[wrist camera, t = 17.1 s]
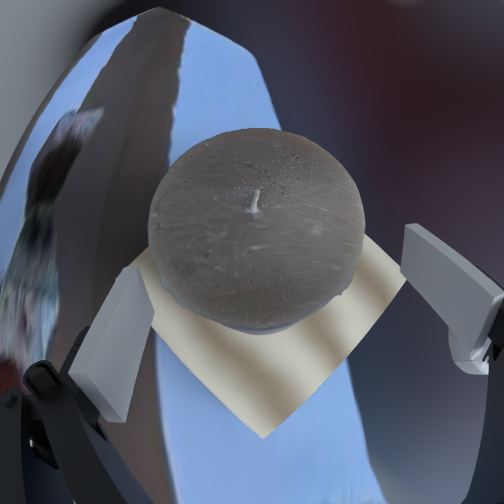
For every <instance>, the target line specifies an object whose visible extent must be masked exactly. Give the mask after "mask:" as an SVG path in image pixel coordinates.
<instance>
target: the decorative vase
mask: <svg viewBox="0 0 504 504" xmlns="http://www.w3.org/2000/svg"><path fill="white" fill-rule="evenodd" d="M448 336H449V337H448V343H449V348H450V352H451V357H452V360H454V361H453V362H454V363H455V364H456V365H457V366H458V367H459V368H460V369H461V370H463V371H464V372H466V373H469V374H488V370H489V363H487V361H488V359H489V356H487V357H486V359H485V361H484V362H482V360H483V357H484V355H485V353H486V351H487V349H488V347H489V345H490V343H491V340H490V338H489V337H487V339H486V341H485V343H484V345H483V347H482V348H481V349H479V350H477V351H475V352H473V353H471V354H470V353H469V351H468V350H467V349H466V348H465V346H464V345H463V344H462V343H461V341H460V340H459V339H458V338H457V336H456V335H455V334H454V333H453V331H452V330H451V329H450V328H448Z"/></svg>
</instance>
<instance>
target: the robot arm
mask: <svg viewBox="0 0 504 504" xmlns="http://www.w3.org/2000/svg"><path fill="white" fill-rule="evenodd" d="M400 273H401V274H402V275H403V276H404V277H405V278H406V279H407V280H408V281H409V282H410V283H411V284H412V285H413V287H414V288H415V289H416V290H417V291H418V292H419V293H420V294H421V295H422V296H423V298H424V299H425V300H426V301H427V302H428V303H429V304H430V305H431V307H432V308H433V309H434V310H435V311H436V312H437V313H438V315H439V316H440V317H441V318H442V319H443V320H444V322H445V323H446V324H447V325H448V327H449V328H450V329H451V330H452V331H453V333H454V334H455V335H456V336H457V338H458V339H459V340H460V341H461V343H462V344H463V345H464V346H465V348H466V349H467V350H468V351H469V353H470V354H471V353H473V352H475V351H477V350H479V349H481V348H482V347H483V345H484V343H485V341H486V339H487V337H489V338H490V340H491V343H490V345H489V347H488V349H487V351H486V353H485V355H484V357H483V360H482V362H484V361H485V359H486V357H487V356H489V359H488V361H487V363H489V370H488V390H487V402H486V412H485V419H484V426H483V432H482V439H481V444H480V449H479V454H478V458H477V463H476V467H475V471H474V475H473V478H472V482H471V485H470V489H469V492H468V494H467V496H466V498H465V499H464V501H463V502H462V503H461V504H504V288H503V287H502V286H500V285H499V284H498V283H497V282H496V281H495V280H493V279H491V277H490V276H489V275H487V274H485V272H484V271H483V270H482V269H480V268H479V267H478V266H475V265H473V264H471V263H470V262H469V261H468V260H466V259H465V258H464V257H463V256H461V255H460V254H459V253H457V252H456V251H455V250H453V249H452V248H451V247H449V246H448V245H447V244H445V243H444V242H443V241H441V240H440V239H438V238H437V237H436V236H434V235H433V234H432V233H430V232H429V231H427V230H426V229H424V228H423V227H422V226H420V225H419V224H417V223H415V224H408V225H405V234H404V245H403V252H402V260H401V268H400ZM154 314H155V311H154V308H153V306H152V303H151V300H150V298H149V295H148V292H147V290H146V287H145V284H144V281H143V278H142V275H141V273H140V270H139V267H138V265H137V266H131V267H124V268H123V270H122V272H121V273H120V275H119V277H118V278H117V280H116V282H115V283H114V285H113V287H112V289H111V290H110V292H109V294H108V296H107V297H106V299H105V301H104V303H103V304H102V306H101V308H100V310H99V312H98V314H97V315H96V317H95V319H94V321H93V323H92V325H91V326H86V327H85V328H84V329H83V330H82V331H81V332H80V333H79V334H78V336H77V338H76V340H75V342H74V346H72V348H71V350H70V353H69V354H68V356H67V358H66V360H65V362H64V364H63V366H62V368H61V370H60V372H59V374H58V372H57V371H56V370H55V368H54V367H53V365H52V364H51V363H50V362H49V361H47V360H41V361H38V362H36V363H34V364H33V365H31V366H30V367H29V368H28V369H27V371H26V372H25V374H24V377H23V383H24V384H25V386H26V387H27V388H28V389H29V390H30V392H31V393H32V394H31V395H26V396H25V394H24V393H23V392H22V391H21V390H20V389H19V388H17V387H11V388H9V389H7V390H6V391H4V393H3V394H2V396H1V397H0V504H74V502H75V504H154V503H153V502H152V500H151V499H150V498H149V497H148V495H147V494H146V493H145V491H144V490H143V489H142V487H141V486H140V485H139V483H138V482H137V480H136V479H135V478H134V476H133V475H132V473H131V472H130V470H129V469H128V468H127V466H126V465H125V463H124V462H123V460H122V458H121V457H120V455H119V454H118V452H117V451H116V449H115V447H114V446H113V444H112V442H111V441H110V439H109V437H108V435H107V434H106V432H105V430H104V428H103V427H102V425H101V424H100V423H99V422H98V418H99V415H100V413H101V415H102V416H103V417H104V418H105V419H106V420H107V421H109V422H121V423H125V422H126V418H127V413H128V409H129V405H130V400H131V396H132V392H133V388H134V384H135V380H136V376H137V373H138V369H139V365H140V362H141V358H142V354H143V351H144V347H145V344H146V340H147V337H148V333H149V330H150V327H151V323H152V320H153V317H154ZM30 440H31V441H32V447H31V444H30Z"/></svg>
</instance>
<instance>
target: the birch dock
mask: <svg viewBox="0 0 504 504" xmlns="http://www.w3.org/2000/svg"><path fill="white" fill-rule="evenodd" d="M137 265H138V267H139V270H140V273H141V275H142V278H143V281H144V284H145V287H146V290H147V292H148V295H149V298H150V300H151V303H152V306H153V308H154V311H155V314H154V317H153V320H152V323H151V326H152V328H153V329H154V330H155V331H156V332H157V334H158V335H159V336H160V337H161V338H162V339H163V341H164V342H165V343H166V344H167V345H168V346H169V347H170V349H171V350H172V351H173V352H174V353H175V354H176V355H177V356H178V358H179V359H180V360H181V361H182V362H183V363H184V364H185V365H186V366H187V367H188V368H189V369H190V370H191V372H192V373H193V374H194V375H195V376H196V377H197V378H198V379H199V380H200V381H201V382H202V383H203V384H204V385H205V386H206V387H207V388H208V389H209V390H210V391H211V392H212V393H213V394H214V395H215V396H216V397H217V398H218V399H219V400H220V401H221V402H222V403H223V404H224V405H225V406H226V407H227V408H229V409H230V410H231V411H232V412H233V413H234V414H235V415H236V416H237V417H238V418H239V419H240V420H242V421H243V422H244V423H245V424H246V425H247V426H248V427H249V428H251V429H252V430H253V431H254V432H255V433H256V434H258V435H259V436H260V437H261V438H262V439H264V438H265V437H266V436H268V435H269V434H270V433H271V432H272V431H273V430H274V429H276V428H277V427H278V426H279V425H280V424H281V423H282V422H283V421H284V420H286V419H287V418H288V417H289V416H290V415H291V414H292V413H293V412H294V411H295V410H296V409H297V408H298V407H299V406H300V405H301V404H302V403H303V402H305V401H306V400H307V399H308V398H309V397H310V396H311V395H312V394H313V393H314V392H315V391H316V389H317V388H318V387H319V386H320V385H321V384H322V383H323V382H324V381H325V380H326V379H327V378H328V377H329V376H330V375H331V374H332V373H333V372H334V370H335V369H336V368H337V367H338V366H339V365H340V364H341V363H342V362H343V360H344V359H345V358H346V357H347V356H348V355H349V354H350V352H351V351H352V350H353V349H354V348H355V347H356V345H357V344H358V343H359V342H360V341H361V339H362V338H363V337H364V336H365V334H366V333H367V332H368V331H369V329H370V328H371V327H372V326H373V324H374V323H375V322H376V321H377V319H378V318H379V317H380V315H381V314H382V313H383V312H384V310H385V309H386V307H387V306H388V305H389V303H390V302H391V301H392V299H393V298H394V296H395V295H396V294H397V292H398V291H399V290H400V288H401V287H402V285H403V284H404V282H405V281H406V280H407V279H406V278H405V277H404V276H403V275H402V274H401V273H400V268H401V267H400V266H399V265H398V264H397V263H396V262H395V261H394V260H393V259H392V258H391V257H389V256H388V255H387V254H386V253H385V252H384V251H383V250H382V249H381V248H380V247H379V246H378V245H377V244H376V243H374V242H373V241H372V240H371V239H370V238H369V237H368V236H367V235H365V233H364V240H363V248H362V252H361V254H360V256H359V259H358V262H357V266H356V268H355V269H354V277H353V279H352V282H351V283H350V285H349V287H348V288H347V289H346V290H344V291H343V292H342V295H341V296H340V295H337V296H335V297H334V298H333V299H332V300H331V301H330V302H329V303H327V304H326V305H325V306H324V307H323V308H321V309H320V310H319V311H316V312H314V313H313V314H311V315H309V316H307V317H306V318H304V319H302V320H301V321H300V322H298V323H296V324H295V325H293V326H291V327H289V328H288V329H286V330H283V331H281V332H277V333H274V334H268V335H251V334H246V333H243V332H240V331H237V330H234V329H231V328H229V327H227V326H223V325H222V324H220V323H217V322H215V321H213V320H210V319H207V318H205V317H203V316H201V315H196V314H195V313H194V311H193V310H189V309H185V308H183V307H182V306H181V305H180V304H179V303H178V302H176V300H175V299H174V297H173V295H172V293H171V292H168V291H166V290H165V289H164V288H163V286H162V284H161V280H160V276H159V273H158V271H157V269H156V267H155V264H154V261H153V259H152V256H151V253H150V248H149V246H148V247H147V248H146V249H145V250H144V251H143V252H142V253H141V254H140V255H139V256H138V257H137V258H136V259H135V260H134V261H133V262H132V263H131V264H130V265H129V266H128V267H131V266H137ZM118 277H119V276H118ZM118 277H117V278H118ZM117 278H116V279H115V280H117Z"/></svg>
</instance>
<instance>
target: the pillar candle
mask: <svg viewBox="0 0 504 504" xmlns="http://www.w3.org/2000/svg"><path fill="white" fill-rule="evenodd" d="M364 229H365V217H364V211H363V206H362V202H361V198H360V195H359V192H358V189H357V187H356V184H355V182H354V181H353V180H352V178H351V177H350V175H349V174H348V172H347V171H346V169H345V168H344V167H343V166H342V165H341V164H340V163H339V162H338V161H337V160H336V159H335V158H334V157H333V156H332V155H331V154H329V153H328V152H327V151H326V150H324V149H323V148H321V147H320V146H319V145H317V144H316V143H314V142H312V141H309V140H308V139H306V138H304V137H303V136H299V135H296V134H293V133H289V132H285V131H281V130H276V129H269V128H248V129H241V130H236V131H231V132H225V133H221V134H219V135H216V136H214V137H213V138H210V139H207V140H205V141H202V142H200V143H198V144H197V145H195V146H194V147H192V148H191V149H189V150H188V151H187V152H186V153H184V154H183V155H182V156H181V157H179V159H178V160H177V161H176V162H175V163H174V164H173V165H172V166H171V167H170V168H169V170H168V171H167V172H166V173H165V175H164V176H163V178H162V180H161V182H160V183H159V185H158V187H157V189H156V192H155V194H154V196H153V199H152V202H151V206H150V212H149V220H148V243H149V248H150V253H151V256H152V259H153V261H154V264H155V267H156V269H157V271H158V273H159V276H160V280H161V284H162V286H163V288H164V289H165V290H166V291H168V292H171V293H172V295H173V297H174V299H175V300H176V302H178V303H179V304H180V305H181V306H182V307H183V308H185V309H189V310H193V311H194V313H195V314H196V315H201V316H203V317H205V318H207V319H210V320H213V321H215V322H217V323H220V324H222V325H223V326H227V327H229V328H231V329H234V330H237V331H240V332H243V333H246V334H251V335H268V334H274V333H277V332H281V331H283V330H286V329H288V328H289V327H291V326H293V325H295V324H296V323H298V322H300V321H301V320H302V319H304V318H306V317H307V316H309V315H311V314H313V313H314V312H316V311H319V310H320V309H321V308H323V307H324V306H325V305H326V304H327V303H329V302H330V301H331V300H332V299H333V298H334V297H335V296H337V295H340V296H341V295H342V292H343V291H344V290H346V289H347V288H348V287H349V285H350V283H351V282H352V279H353V277H354V269H355V268H356V266H357V262H358V259H359V256H360V254H361V252H362V248H363V240H364V231H365V230H364Z"/></svg>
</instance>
